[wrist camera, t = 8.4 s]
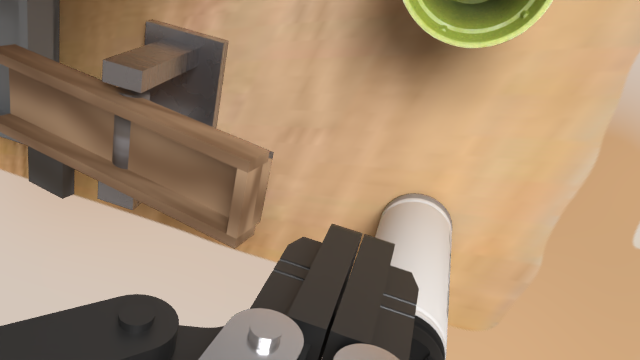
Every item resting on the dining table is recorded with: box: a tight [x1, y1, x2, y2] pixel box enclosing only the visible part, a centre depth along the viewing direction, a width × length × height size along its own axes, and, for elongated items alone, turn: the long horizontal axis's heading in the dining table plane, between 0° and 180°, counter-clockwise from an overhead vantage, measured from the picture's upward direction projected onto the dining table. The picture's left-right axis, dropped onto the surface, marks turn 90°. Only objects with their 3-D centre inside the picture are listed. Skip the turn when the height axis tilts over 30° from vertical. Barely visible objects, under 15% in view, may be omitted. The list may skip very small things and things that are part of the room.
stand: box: [98, 20, 228, 210], centre depth 45 cm, size 13×7×10 cm, turn 168°
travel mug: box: [375, 193, 452, 360], centre depth 40 cm, size 6×7×20 cm
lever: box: [0, 44, 274, 249], centre depth 43 cm, size 11×24×5 cm, turn 78°
